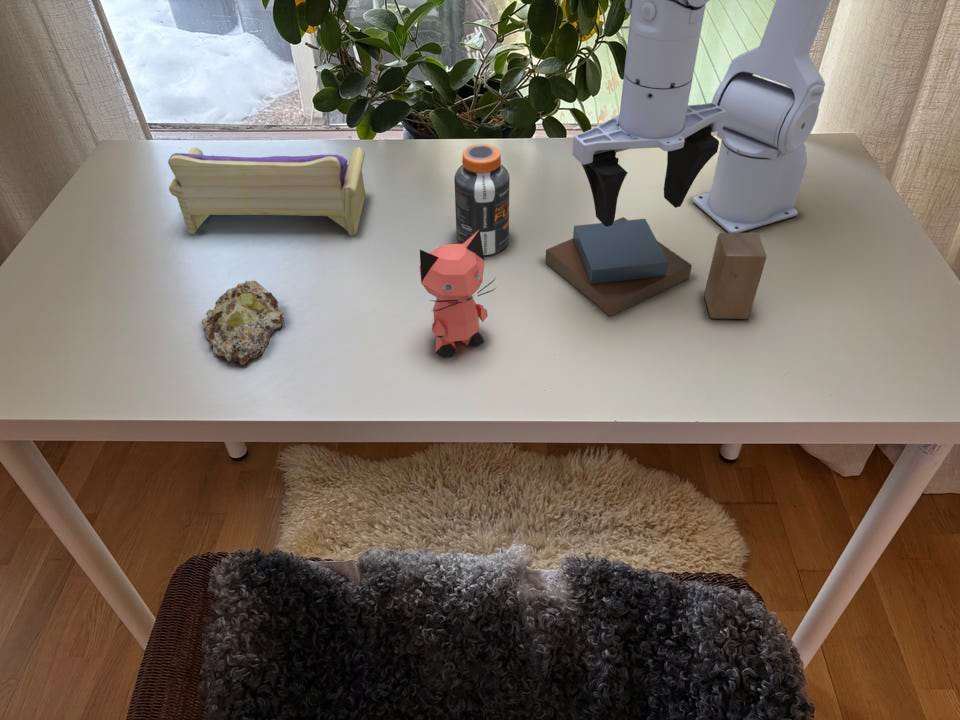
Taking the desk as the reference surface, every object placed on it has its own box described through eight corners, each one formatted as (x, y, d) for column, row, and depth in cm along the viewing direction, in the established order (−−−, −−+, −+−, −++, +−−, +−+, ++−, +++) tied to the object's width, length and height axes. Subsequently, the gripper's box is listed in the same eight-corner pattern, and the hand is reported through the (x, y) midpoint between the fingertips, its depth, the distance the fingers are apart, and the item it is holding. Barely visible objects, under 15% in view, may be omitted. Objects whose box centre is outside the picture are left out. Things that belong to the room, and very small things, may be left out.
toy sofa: (371, 196, 96) (361, 118, 88) (362, 237, 89) (349, 157, 82) (204, 196, 96) (180, 119, 89) (183, 237, 90) (155, 158, 83)
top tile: (643, 232, 86) (645, 218, 85) (665, 276, 80) (668, 262, 79) (572, 239, 85) (573, 225, 84) (590, 284, 80) (592, 270, 78)
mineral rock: (198, 284, 80) (269, 260, 79) (220, 313, 83) (289, 290, 82) (185, 358, 72) (264, 333, 72) (210, 387, 76) (286, 363, 75)
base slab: (621, 229, 89) (623, 216, 88) (689, 278, 83) (692, 265, 82) (545, 262, 85) (545, 249, 84) (610, 316, 79) (611, 303, 77)
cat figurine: (439, 373, 73) (431, 272, 65) (408, 331, 78) (397, 231, 69) (504, 347, 76) (504, 247, 67) (470, 308, 80) (467, 209, 72)
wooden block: (709, 319, 78) (725, 255, 72) (702, 294, 81) (717, 230, 75) (749, 320, 78) (768, 256, 72) (741, 295, 81) (759, 231, 75)
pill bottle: (503, 259, 86) (504, 169, 78) (451, 254, 87) (446, 164, 79) (513, 229, 90) (514, 140, 82) (463, 224, 91) (459, 135, 83)
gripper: (606, 111, 61) (592, 252, 70) (758, 76, 65) (726, 214, 74) (565, 76, 65) (557, 212, 75) (709, 45, 69) (684, 179, 79)
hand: (638, 211), depth 75 cm, fingers open, 7 cm apart
